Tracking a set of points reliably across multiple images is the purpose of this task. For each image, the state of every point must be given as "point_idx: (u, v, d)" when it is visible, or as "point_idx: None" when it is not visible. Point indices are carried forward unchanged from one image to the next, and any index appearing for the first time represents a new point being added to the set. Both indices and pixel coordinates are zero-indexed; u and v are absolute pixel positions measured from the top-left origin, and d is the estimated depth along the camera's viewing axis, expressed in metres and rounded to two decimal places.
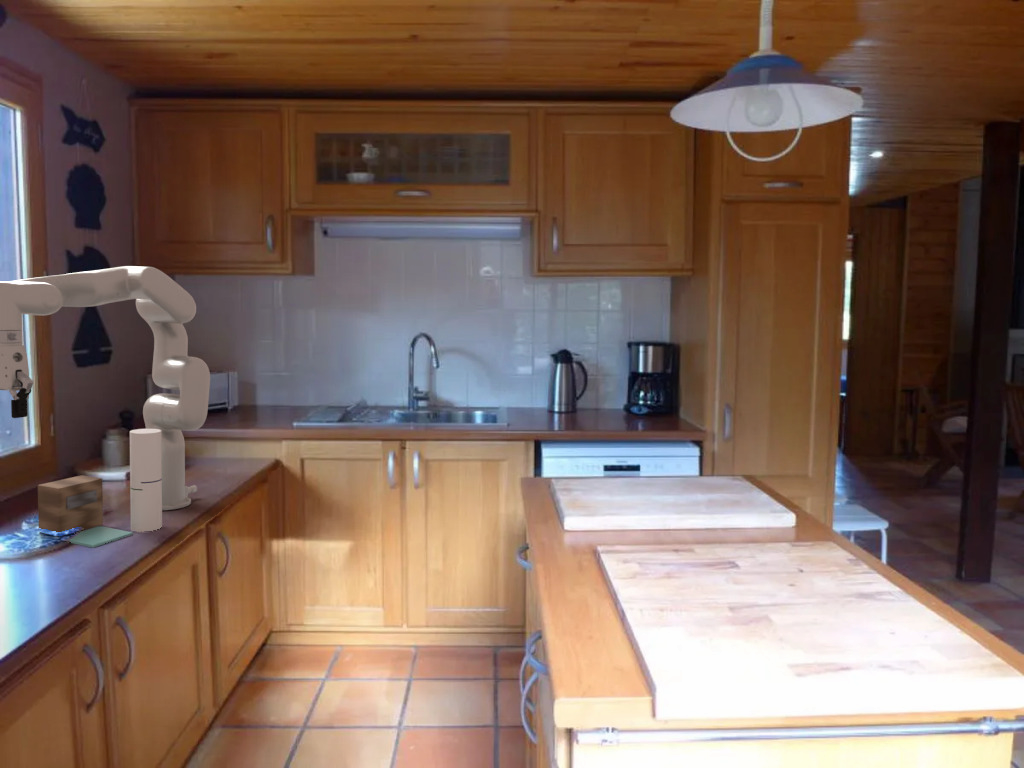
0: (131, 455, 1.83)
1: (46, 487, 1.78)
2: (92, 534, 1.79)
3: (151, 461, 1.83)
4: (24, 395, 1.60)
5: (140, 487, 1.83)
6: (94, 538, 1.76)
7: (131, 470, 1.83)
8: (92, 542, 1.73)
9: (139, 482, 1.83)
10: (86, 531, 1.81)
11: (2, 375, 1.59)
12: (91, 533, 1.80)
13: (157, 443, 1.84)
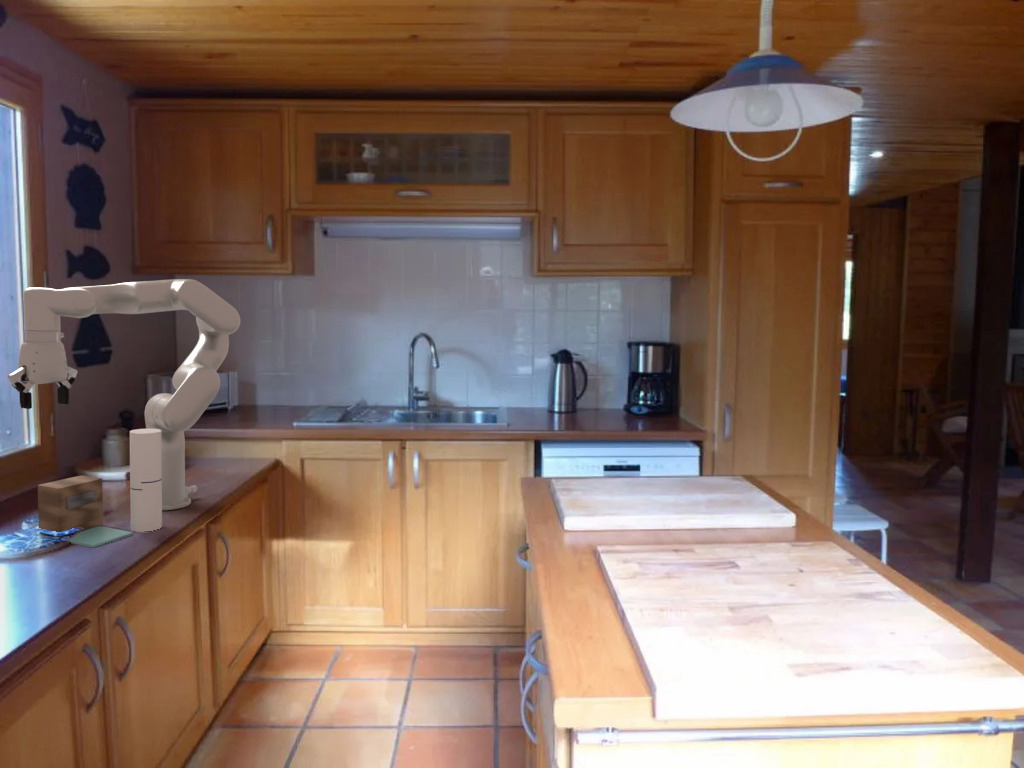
0: (131, 455, 1.83)
1: (46, 487, 1.78)
2: (92, 534, 1.79)
3: (151, 461, 1.83)
4: None
5: (140, 487, 1.83)
6: (94, 538, 1.76)
7: (131, 470, 1.83)
8: (92, 542, 1.73)
9: (139, 482, 1.83)
10: (86, 531, 1.81)
11: (62, 368, 1.86)
12: (91, 533, 1.80)
13: (157, 443, 1.84)
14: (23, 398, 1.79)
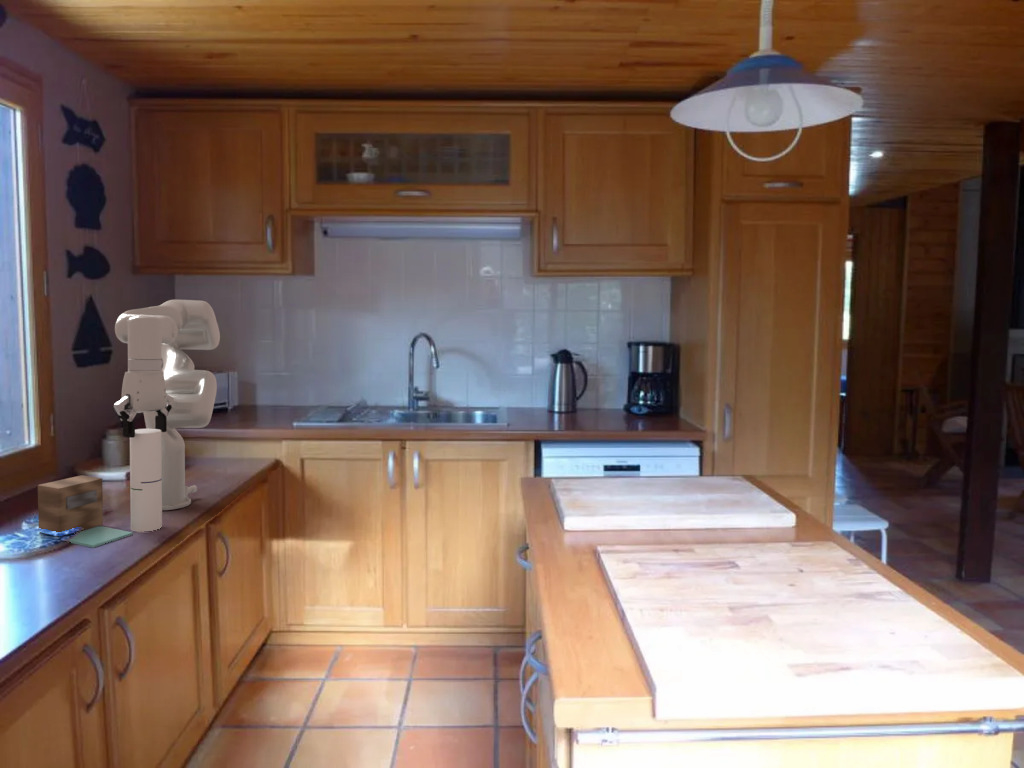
0: (131, 455, 1.83)
1: (46, 487, 1.78)
2: (92, 534, 1.79)
3: (151, 461, 1.83)
4: None
5: (140, 487, 1.83)
6: (94, 538, 1.76)
7: (131, 470, 1.83)
8: (92, 542, 1.73)
9: (139, 482, 1.83)
10: (86, 531, 1.81)
11: (161, 397, 1.86)
12: (91, 533, 1.80)
13: (157, 443, 1.84)
14: (127, 427, 1.79)
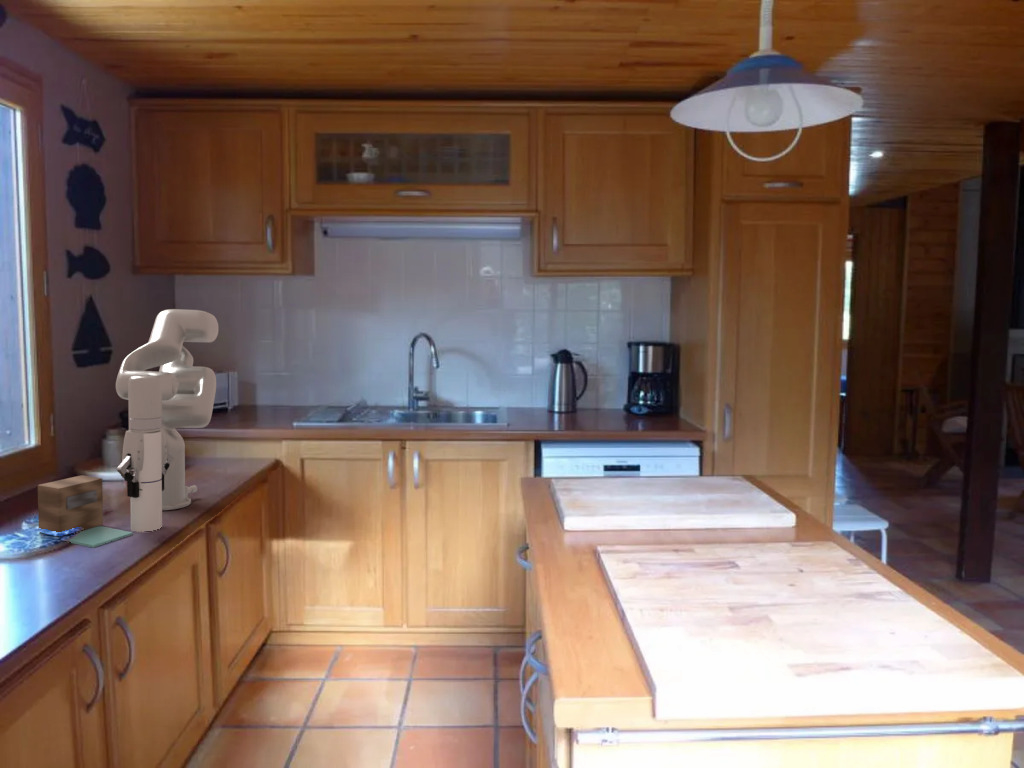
0: None
1: (46, 487, 1.78)
2: (92, 534, 1.79)
3: (151, 461, 1.83)
4: None
5: (140, 487, 1.83)
6: (94, 538, 1.76)
7: None
8: (92, 542, 1.73)
9: (139, 482, 1.83)
10: (86, 531, 1.81)
11: (162, 453, 1.88)
12: (91, 533, 1.80)
13: (157, 443, 1.84)
14: (131, 487, 1.81)
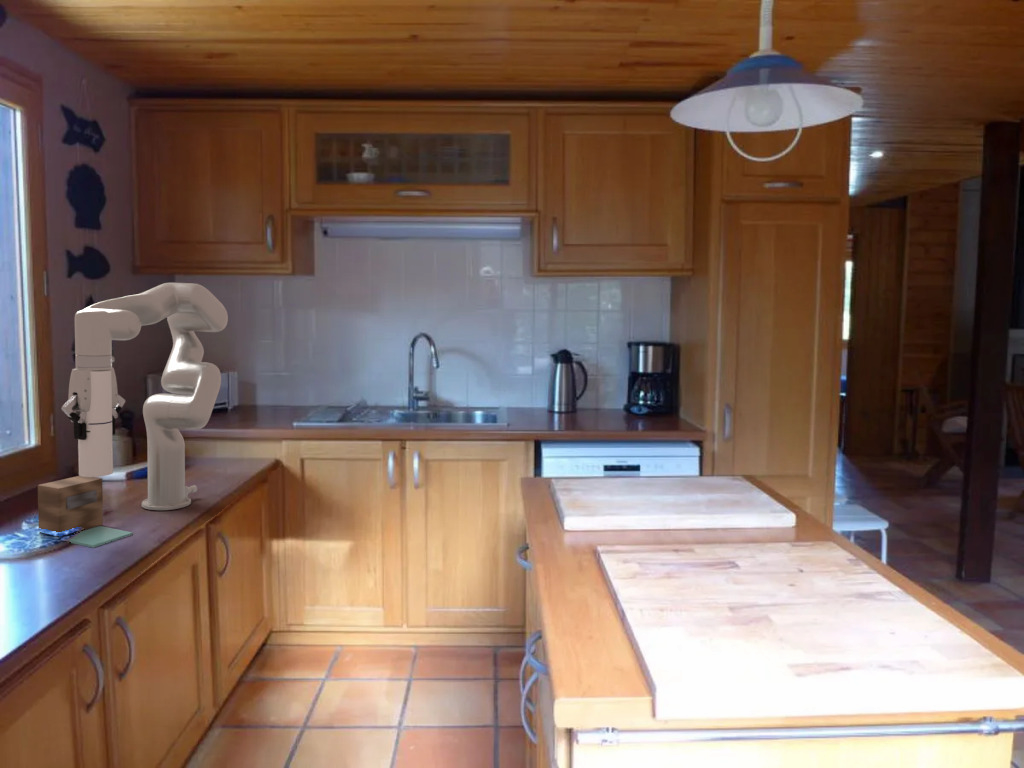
0: None
1: (46, 487, 1.78)
2: (92, 534, 1.79)
3: (99, 402, 1.73)
4: None
5: (88, 429, 1.72)
6: (94, 538, 1.76)
7: None
8: (92, 542, 1.73)
9: (87, 423, 1.72)
10: (86, 531, 1.81)
11: (112, 395, 1.77)
12: (91, 533, 1.80)
13: (107, 382, 1.74)
14: (78, 429, 1.71)
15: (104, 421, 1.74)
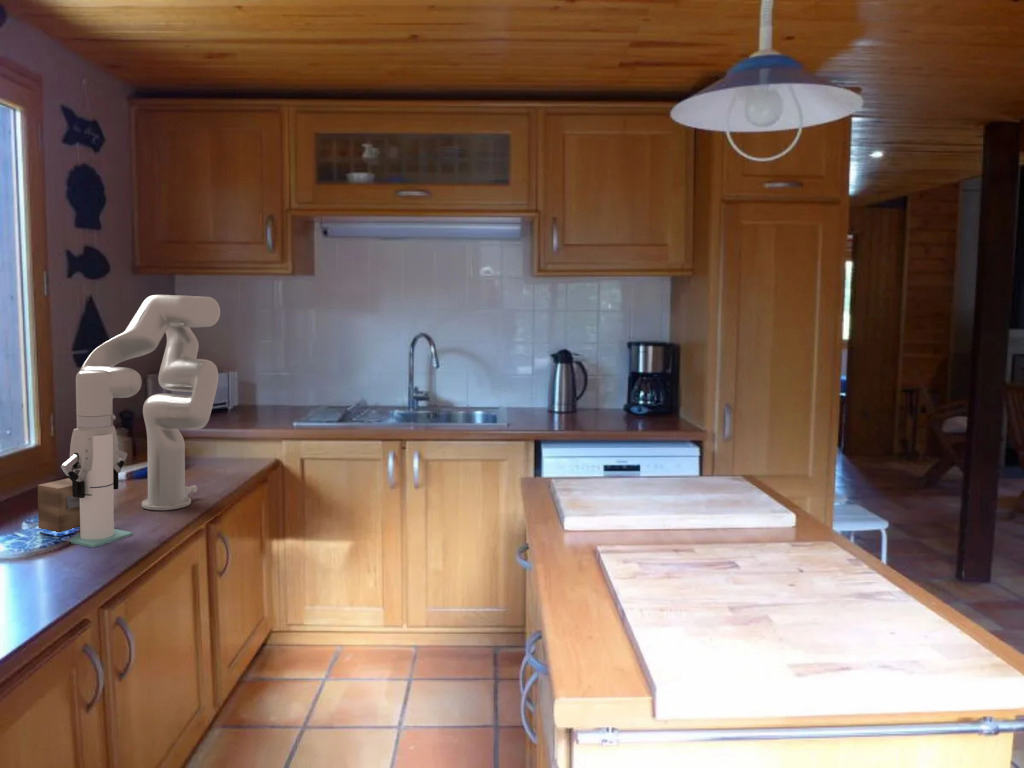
0: None
1: (46, 487, 1.78)
2: None
3: (101, 465, 1.74)
4: None
5: (89, 492, 1.74)
6: None
7: None
8: (92, 542, 1.73)
9: (88, 487, 1.74)
10: None
11: (113, 453, 1.79)
12: None
13: (108, 446, 1.76)
14: (76, 487, 1.72)
15: (105, 484, 1.76)
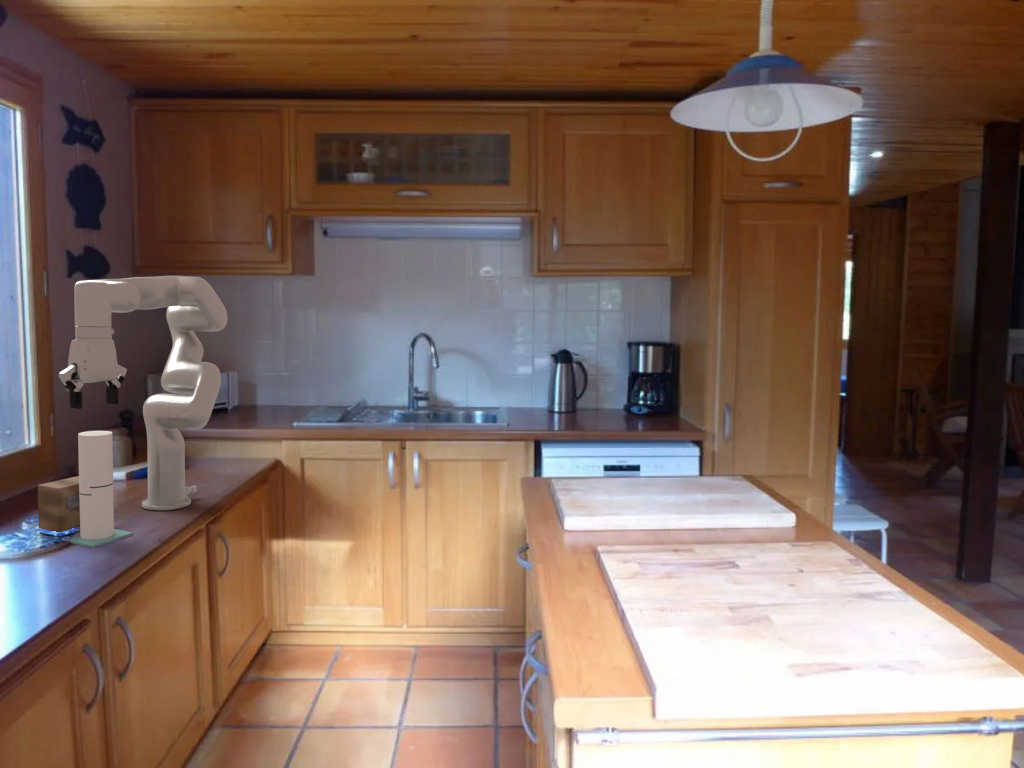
0: (80, 458, 1.74)
1: (46, 487, 1.78)
2: None
3: (101, 465, 1.74)
4: None
5: (89, 492, 1.74)
6: None
7: (80, 474, 1.74)
8: (92, 542, 1.73)
9: (88, 487, 1.74)
10: None
11: (112, 367, 1.76)
12: None
13: (108, 445, 1.76)
14: (73, 397, 1.69)
15: (105, 484, 1.76)
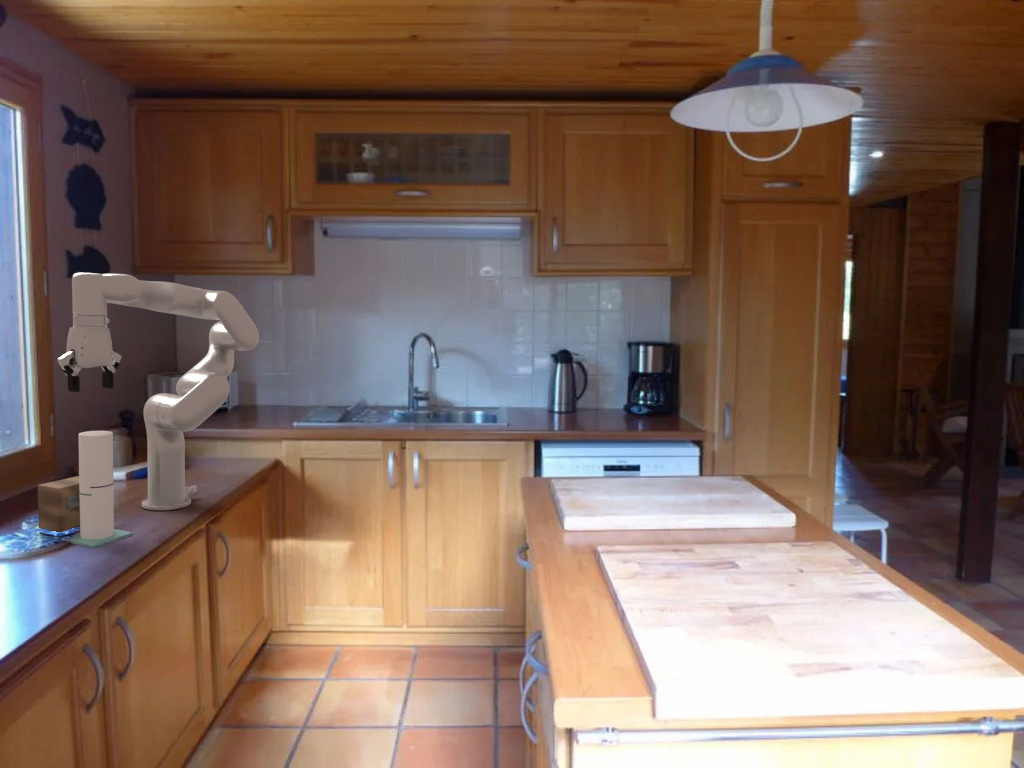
0: (80, 458, 1.74)
1: (46, 487, 1.78)
2: None
3: (101, 465, 1.74)
4: None
5: (89, 492, 1.74)
6: None
7: (80, 474, 1.74)
8: (92, 542, 1.73)
9: (88, 487, 1.74)
10: None
11: (107, 353, 1.89)
12: None
13: (108, 446, 1.76)
14: (71, 381, 1.82)
15: (105, 484, 1.76)
